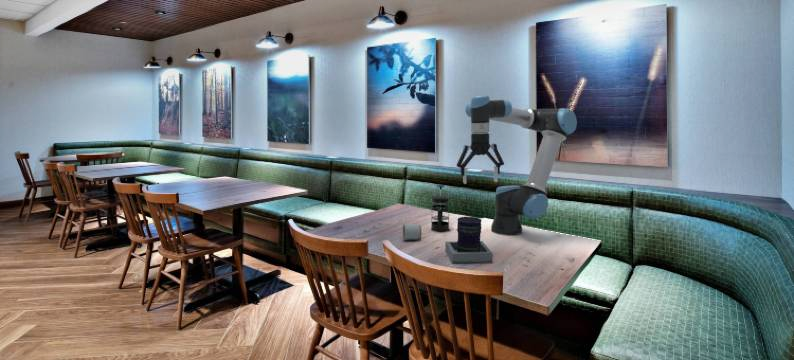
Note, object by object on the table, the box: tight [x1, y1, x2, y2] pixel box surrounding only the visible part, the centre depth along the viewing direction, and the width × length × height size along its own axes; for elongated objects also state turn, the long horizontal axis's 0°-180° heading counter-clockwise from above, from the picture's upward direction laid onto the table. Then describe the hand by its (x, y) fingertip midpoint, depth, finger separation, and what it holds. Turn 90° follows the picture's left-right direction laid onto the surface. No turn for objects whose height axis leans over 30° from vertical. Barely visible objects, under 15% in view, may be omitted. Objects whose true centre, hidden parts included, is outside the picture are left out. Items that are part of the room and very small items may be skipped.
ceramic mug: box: [402, 223, 422, 241], centre depth 197 cm, size 11×8×8 cm
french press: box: [430, 184, 450, 233], centre depth 211 cm, size 12×9×23 cm
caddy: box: [444, 240, 493, 264], centre depth 172 cm, size 16×16×4 cm
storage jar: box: [456, 216, 482, 253], centre depth 171 cm, size 10×10×15 cm
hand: (480, 182), depth 179 cm, fingers open, 13 cm apart
